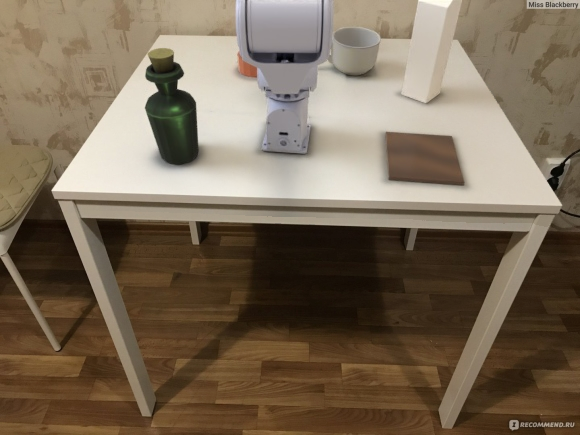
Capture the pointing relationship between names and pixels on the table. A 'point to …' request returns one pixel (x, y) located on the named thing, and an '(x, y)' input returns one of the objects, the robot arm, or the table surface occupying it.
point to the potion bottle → (171, 109)
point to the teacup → (354, 49)
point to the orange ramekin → (246, 67)
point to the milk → (430, 48)
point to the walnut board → (422, 158)
